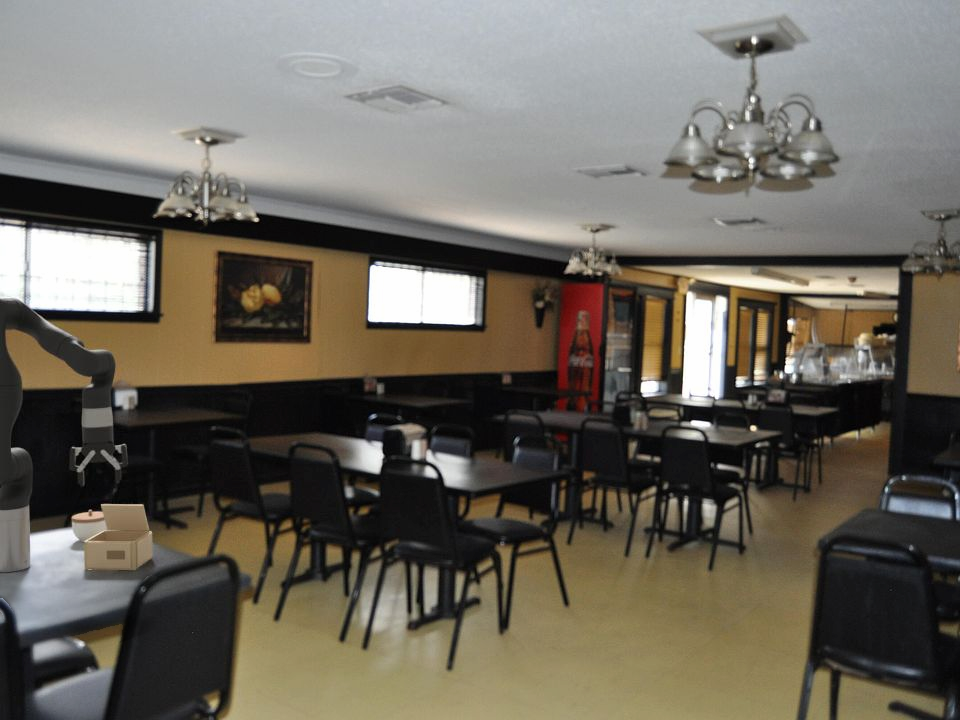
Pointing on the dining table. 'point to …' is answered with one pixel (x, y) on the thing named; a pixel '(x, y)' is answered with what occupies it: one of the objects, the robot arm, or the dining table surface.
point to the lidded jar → (88, 524)
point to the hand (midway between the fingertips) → (99, 484)
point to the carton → (118, 550)
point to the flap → (125, 516)
